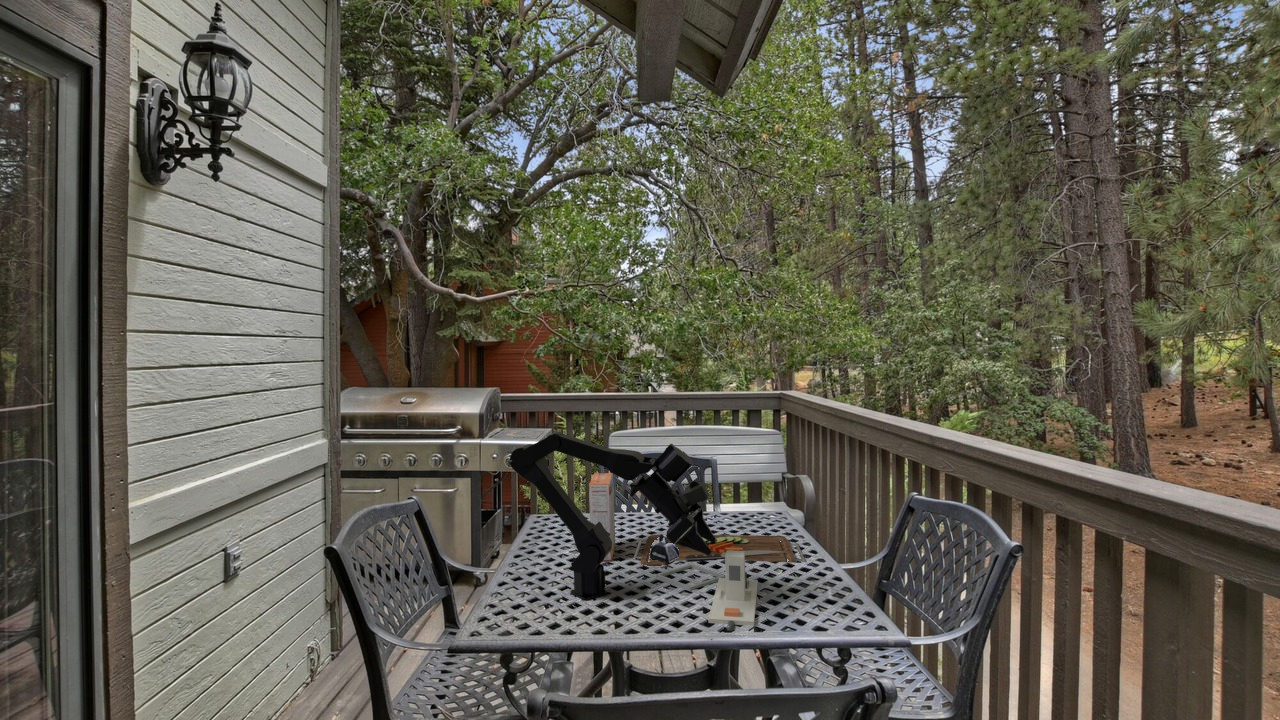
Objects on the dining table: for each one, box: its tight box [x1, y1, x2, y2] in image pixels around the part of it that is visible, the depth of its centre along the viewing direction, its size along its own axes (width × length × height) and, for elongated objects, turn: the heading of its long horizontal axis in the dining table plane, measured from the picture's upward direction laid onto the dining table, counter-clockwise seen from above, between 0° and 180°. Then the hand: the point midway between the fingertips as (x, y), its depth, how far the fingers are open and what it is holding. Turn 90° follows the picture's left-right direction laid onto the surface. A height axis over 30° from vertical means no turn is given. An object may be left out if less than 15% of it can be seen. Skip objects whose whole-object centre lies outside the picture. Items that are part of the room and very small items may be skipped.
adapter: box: [724, 550, 746, 601], centre depth 148 cm, size 4×5×10 cm
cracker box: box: [588, 472, 616, 562], centre depth 184 cm, size 14×6×21 cm, turn 178°
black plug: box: [745, 571, 748, 589], centre depth 155 cm, size 4×4×4 cm
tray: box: [654, 563, 725, 591], centre depth 162 cm, size 12×12×1 cm
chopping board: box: [632, 533, 807, 567], centre depth 184 cm, size 45×27×3 cm, turn 84°
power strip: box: [708, 578, 759, 632], centre depth 145 cm, size 27×9×2 cm, turn 168°
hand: (712, 547), depth 148 cm, fingers open, 9 cm apart
